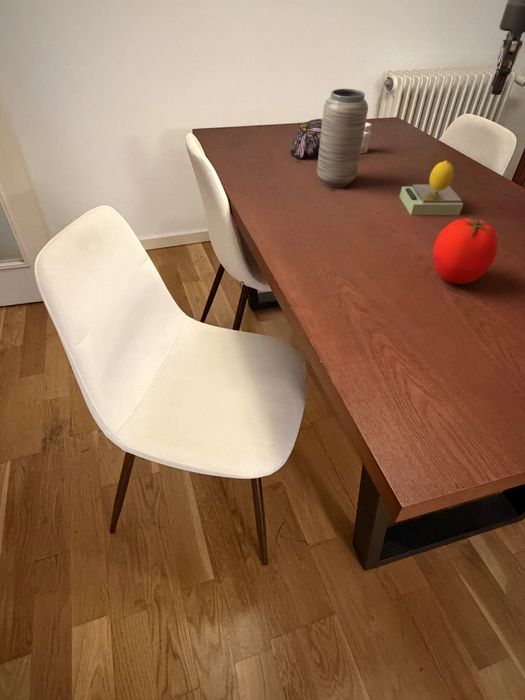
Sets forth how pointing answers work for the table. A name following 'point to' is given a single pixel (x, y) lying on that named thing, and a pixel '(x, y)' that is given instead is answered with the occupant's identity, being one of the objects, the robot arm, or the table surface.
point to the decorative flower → (307, 139)
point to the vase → (341, 137)
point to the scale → (427, 205)
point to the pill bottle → (366, 138)
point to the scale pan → (435, 194)
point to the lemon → (441, 176)
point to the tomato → (464, 250)
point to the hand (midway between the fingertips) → (495, 90)
